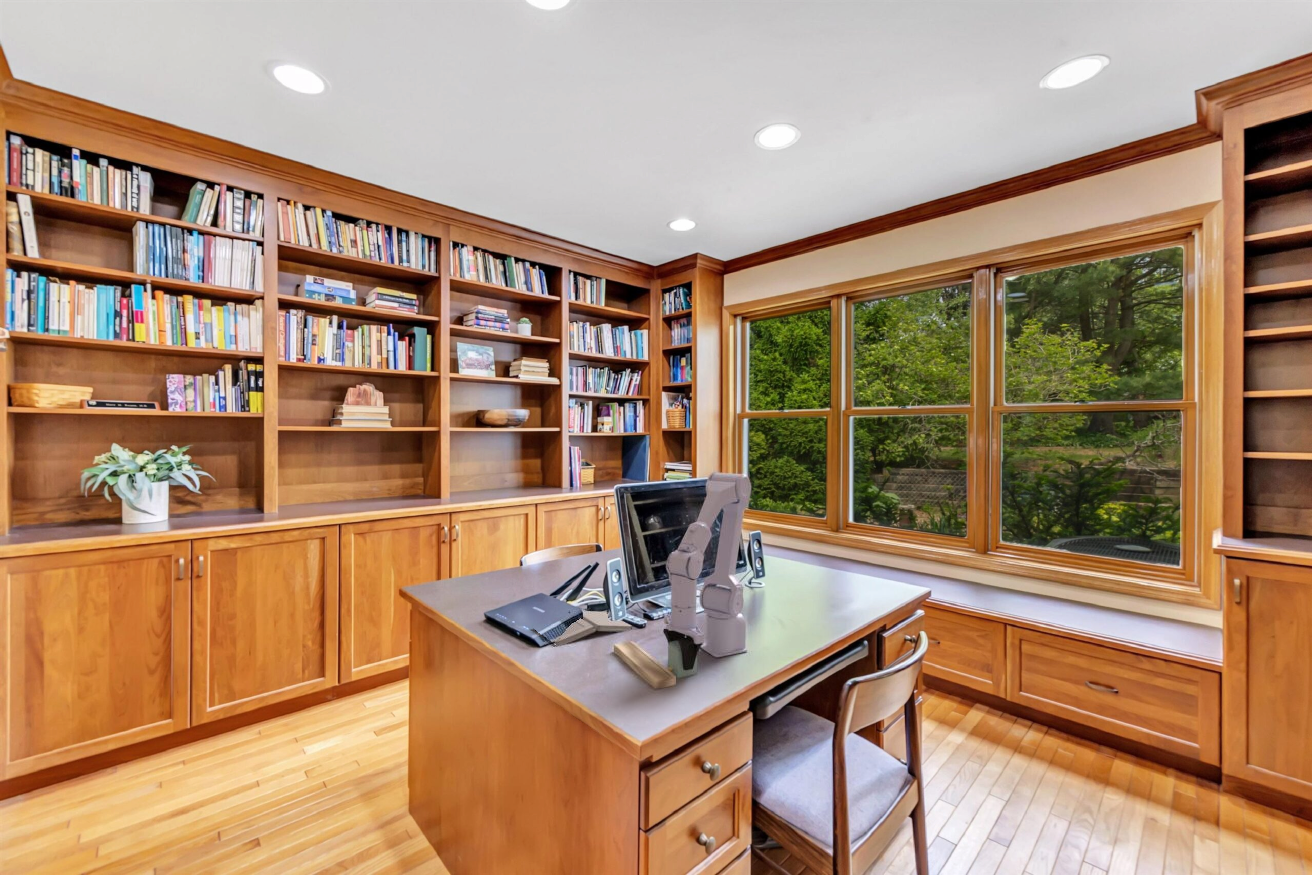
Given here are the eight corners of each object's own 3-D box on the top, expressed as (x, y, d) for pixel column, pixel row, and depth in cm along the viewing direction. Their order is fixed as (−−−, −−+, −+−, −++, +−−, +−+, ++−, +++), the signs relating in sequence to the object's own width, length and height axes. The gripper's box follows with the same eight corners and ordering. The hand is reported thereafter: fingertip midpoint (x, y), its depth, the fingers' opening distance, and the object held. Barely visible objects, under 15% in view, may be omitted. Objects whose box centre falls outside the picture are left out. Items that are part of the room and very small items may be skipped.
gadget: (605, 616, 163) (605, 603, 163) (632, 631, 151) (633, 618, 151) (532, 631, 149) (532, 617, 149) (556, 649, 137) (556, 634, 137)
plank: (632, 648, 137) (632, 640, 137) (675, 684, 118) (675, 676, 117) (613, 651, 135) (614, 644, 135) (654, 689, 115) (655, 680, 115)
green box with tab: (686, 666, 127) (687, 638, 127) (697, 673, 123) (697, 644, 123) (663, 671, 124) (663, 642, 124) (672, 679, 120) (673, 649, 120)
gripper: (653, 597, 129) (652, 655, 129) (684, 616, 116) (683, 680, 116) (679, 594, 132) (678, 650, 132) (712, 612, 119) (711, 674, 119)
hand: (682, 664), depth 124 cm, fingers open, 5 cm apart
